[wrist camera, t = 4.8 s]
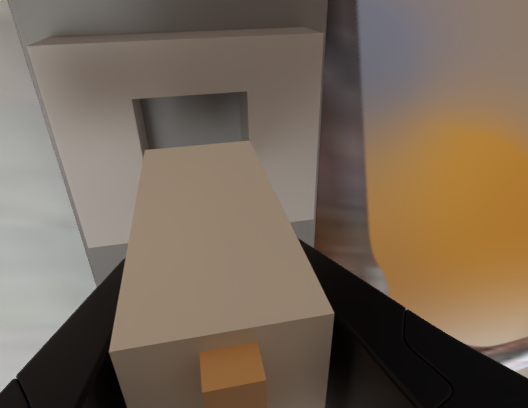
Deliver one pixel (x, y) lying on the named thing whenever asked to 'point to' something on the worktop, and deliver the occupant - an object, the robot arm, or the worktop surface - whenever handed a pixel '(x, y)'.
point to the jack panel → (174, 97)
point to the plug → (217, 290)
